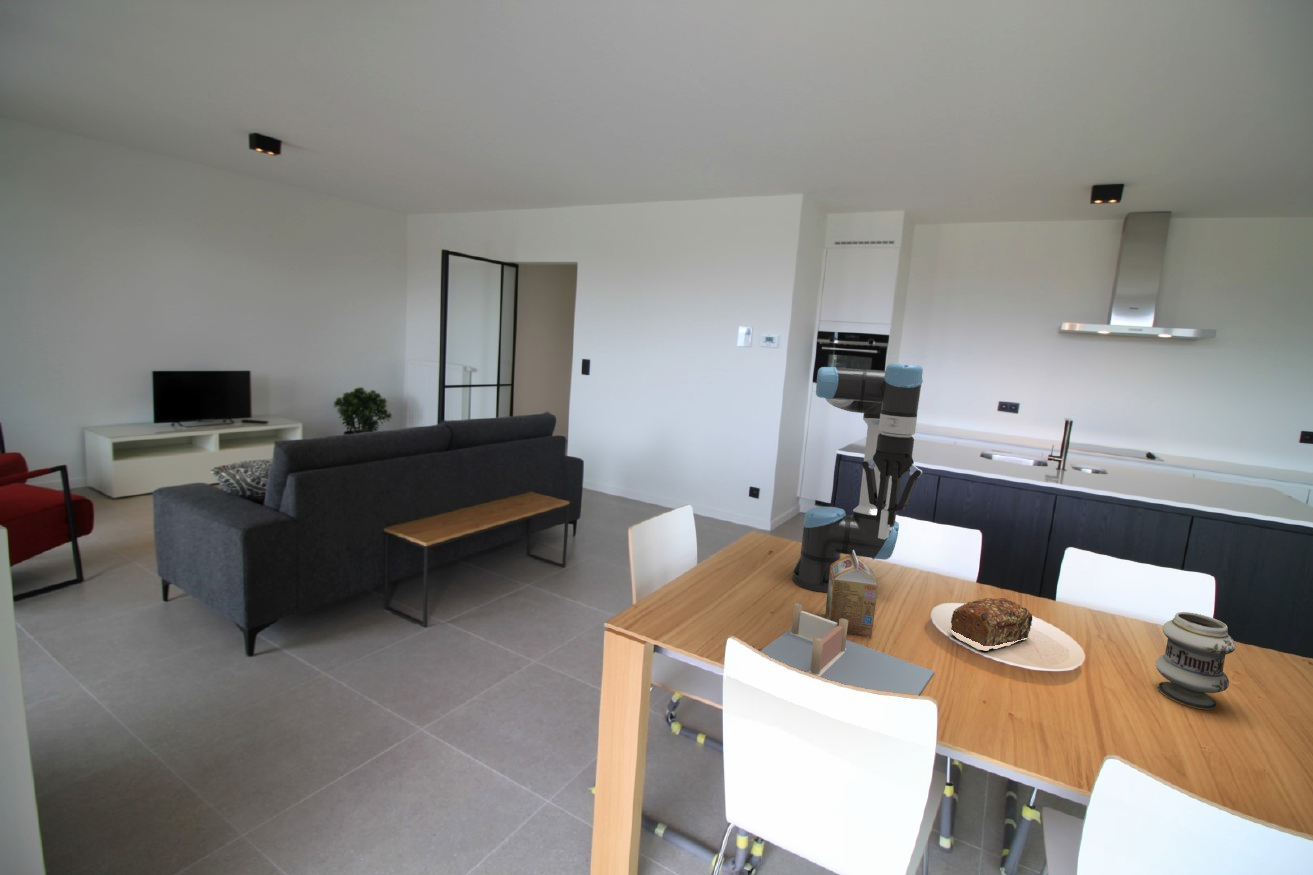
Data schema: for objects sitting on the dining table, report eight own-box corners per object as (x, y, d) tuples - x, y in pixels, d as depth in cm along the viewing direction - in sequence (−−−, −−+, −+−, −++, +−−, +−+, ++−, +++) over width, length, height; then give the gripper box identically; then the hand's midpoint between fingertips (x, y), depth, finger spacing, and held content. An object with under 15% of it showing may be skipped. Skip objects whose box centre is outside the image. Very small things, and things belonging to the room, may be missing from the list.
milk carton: (871, 638, 150) (880, 566, 147) (827, 631, 152) (836, 560, 149) (865, 619, 160) (874, 552, 157) (825, 614, 162) (832, 546, 159)
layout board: (798, 624, 155) (798, 622, 155) (934, 673, 135) (934, 670, 135) (756, 655, 138) (756, 653, 138) (904, 717, 118) (905, 714, 118)
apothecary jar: (1150, 675, 140) (1165, 602, 137) (1220, 696, 133) (1237, 620, 130) (1150, 696, 131) (1166, 619, 128) (1225, 720, 123) (1244, 639, 121)
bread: (985, 655, 145) (991, 616, 144) (946, 635, 154) (951, 598, 153) (1031, 641, 154) (1037, 605, 152) (991, 623, 163) (997, 589, 161)
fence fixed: (793, 630, 150) (796, 602, 149) (846, 649, 142) (849, 620, 141) (789, 632, 149) (792, 604, 148) (842, 652, 141) (846, 623, 139)
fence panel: (834, 648, 141) (837, 619, 140) (842, 651, 140) (845, 621, 139) (808, 670, 131) (812, 639, 130) (817, 674, 130) (820, 642, 128)
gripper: (860, 431, 133) (848, 533, 136) (922, 440, 125) (908, 548, 129) (872, 429, 139) (860, 527, 142) (932, 437, 131) (918, 540, 134)
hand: (883, 537), depth 135 cm, fingers closed
